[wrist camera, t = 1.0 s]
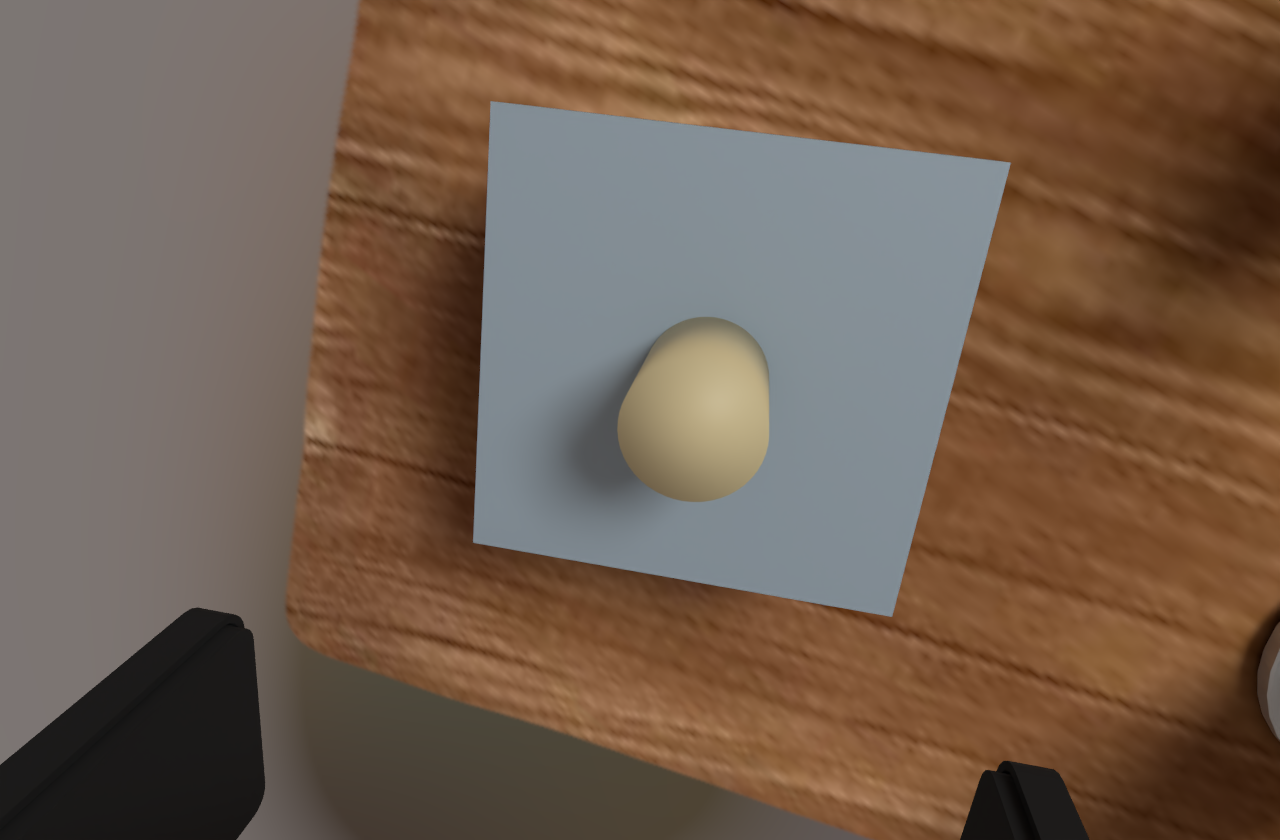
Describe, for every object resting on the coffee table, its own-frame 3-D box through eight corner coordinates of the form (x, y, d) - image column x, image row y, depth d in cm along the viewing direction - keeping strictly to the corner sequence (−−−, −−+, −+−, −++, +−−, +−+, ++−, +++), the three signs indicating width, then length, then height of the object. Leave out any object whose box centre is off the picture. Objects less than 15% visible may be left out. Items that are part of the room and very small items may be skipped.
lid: (999, 160, 24) (1073, 172, 18) (887, 597, 29) (916, 715, 23) (502, 102, 25) (423, 95, 19) (484, 527, 30) (416, 621, 25)
